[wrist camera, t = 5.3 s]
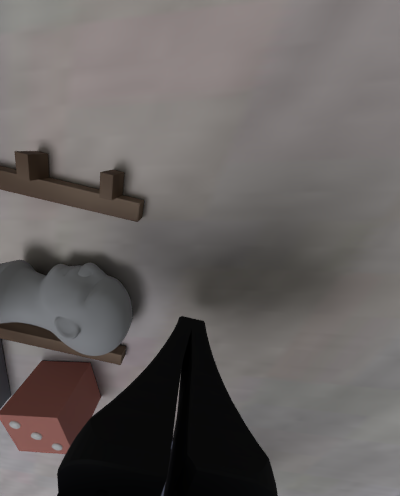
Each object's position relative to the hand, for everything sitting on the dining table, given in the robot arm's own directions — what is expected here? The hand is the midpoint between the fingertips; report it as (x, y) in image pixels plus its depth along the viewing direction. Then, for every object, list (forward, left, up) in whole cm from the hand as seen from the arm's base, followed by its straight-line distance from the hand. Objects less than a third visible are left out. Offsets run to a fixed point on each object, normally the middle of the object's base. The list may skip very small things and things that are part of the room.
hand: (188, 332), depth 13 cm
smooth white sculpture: (-1, +7, -3) cm, 8 cm away
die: (-10, +8, -3) cm, 13 cm away
